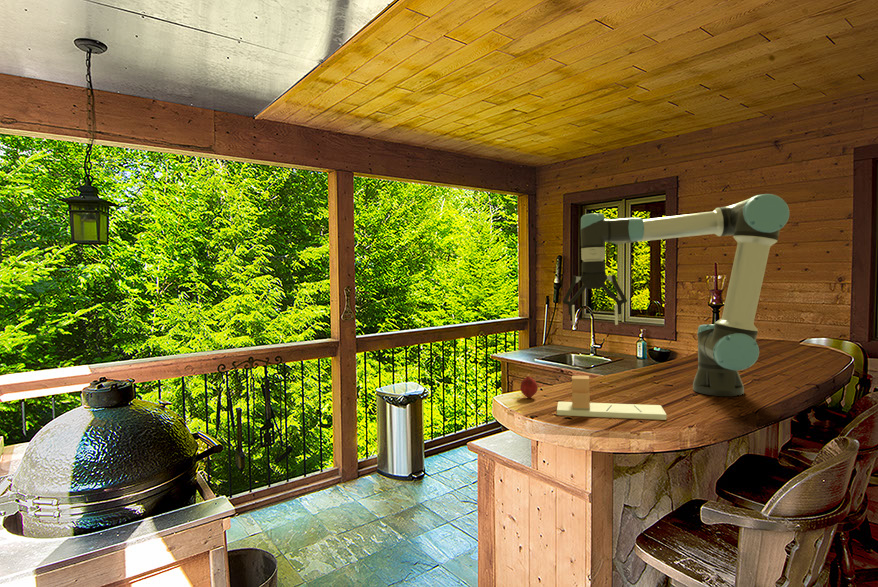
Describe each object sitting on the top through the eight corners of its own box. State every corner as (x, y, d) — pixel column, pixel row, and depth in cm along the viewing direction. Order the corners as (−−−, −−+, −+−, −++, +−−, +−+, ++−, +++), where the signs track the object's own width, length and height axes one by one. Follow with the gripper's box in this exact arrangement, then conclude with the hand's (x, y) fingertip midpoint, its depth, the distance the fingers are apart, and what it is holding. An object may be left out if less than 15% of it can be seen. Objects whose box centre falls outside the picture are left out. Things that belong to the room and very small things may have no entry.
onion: (538, 400, 163) (537, 376, 163) (520, 400, 164) (520, 376, 163) (537, 396, 169) (536, 373, 168) (520, 396, 169) (520, 373, 169)
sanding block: (589, 403, 151) (588, 374, 151) (589, 410, 143) (589, 380, 143) (572, 402, 152) (572, 374, 152) (572, 409, 145) (571, 379, 144)
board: (660, 410, 146) (660, 405, 146) (666, 419, 137) (666, 414, 137) (558, 406, 155) (558, 401, 155) (556, 415, 145) (556, 410, 145)
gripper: (554, 262, 161) (555, 325, 162) (634, 258, 154) (636, 325, 155) (555, 262, 168) (556, 323, 169) (632, 259, 162) (633, 323, 162)
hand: (594, 324), depth 162 cm, fingers open, 13 cm apart
